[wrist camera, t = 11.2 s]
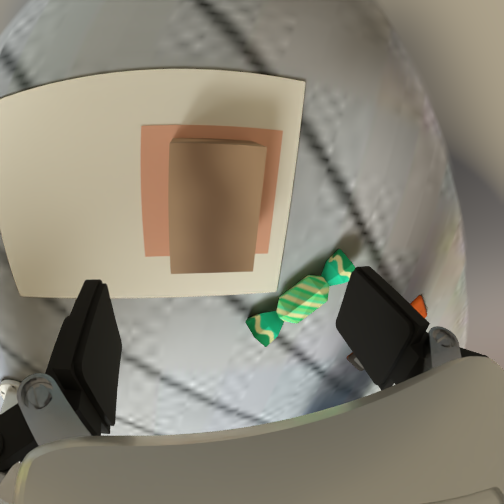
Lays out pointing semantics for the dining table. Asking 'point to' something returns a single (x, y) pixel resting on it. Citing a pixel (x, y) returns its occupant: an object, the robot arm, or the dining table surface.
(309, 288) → the candy
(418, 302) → the orange grey slab
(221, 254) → the walnut card box
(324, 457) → the robot arm
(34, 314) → the dining table surface
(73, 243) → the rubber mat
